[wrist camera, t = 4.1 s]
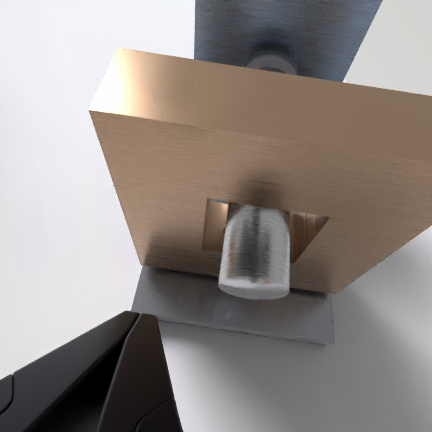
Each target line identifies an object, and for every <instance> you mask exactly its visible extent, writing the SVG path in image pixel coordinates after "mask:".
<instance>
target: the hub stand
mask: <svg viewBox="0 0 432 432" xmlns="http://www.w3.org/2000/svg"><path fill="white" fill-rule="evenodd" d="M381 3H382V0H195V43H194V60H200V61H207V62H213V63H220V64H226V65H233V66H239V67H246V68H252V69H259V70H265V71H272V72H278V73H285V74H291V75H298V76H304V77H311V78H317V79H324V80H330V81H337V82H343V80H344V78H345V76H346V74H347V72H348V70H349V68H350V65H351V64H352V62H353V60H354V57H355V56H356V54H357V52H358V49H359V47H360V45H361V43H362V41H363V39H364V37H365V35H366V33H367V31H368V29H369V27H370V25H371V23H372V21H373V19H374V17H375V15H376V13H377V11H378V9H379V7H380V5H381ZM210 201H213V202H219V203H226V204H229V205H228V212H227V220H226V228H225V236H224V243H223V251H222V259H221V267H220V274H219V277H218V276H211V275H205V274H198V273H192V272H185V271H178V270H172V269H165V268H158V267H152V266H145V265H143V267H142V271H141V275H140V278H139V282H138V286H137V290H136V294H135V298H134V301H133V305H132V309H131V311H132V312H138V313H140V315H141V314H142V313H146V314H152V315H155V316H156V317H157V320H161V321H168V322H174V323H181V324H188V325H194V326H201V327H208V328H214V329H221V330H228V331H234V332H241V333H248V334H254V335H261V336H267V337H274V338H281V339H287V340H294V341H301V342H307V343H314V344H321V345H328V344H331V343H333V342H334V337H333V320H332V302H331V293H324V292H317V291H311V290H304V289H297V288H291V287H289V274H290V213H291V214H295V212H294V211H288V210H281V209H275V208H268V207H261V206H255V205H248V204H242V203H235V202H229V201H222V200H216V199H210Z"/></svg>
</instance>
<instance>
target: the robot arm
mask: <svg viewBox="0 0 432 432" xmlns="http://www.w3.org/2000/svg"><path fill="white" fill-rule="evenodd" d="M0 432H183V429H182V426H181V422H180V418H179V415H178V410H177V406H176V402H175V399H174V393H173V389H172V384H171V380H170V375H169V371H168V366H167V362H166V357H165V353H164V348H163V344H162V340H161V335H160V331H159V326H158V322H157V317H156V316H155V315H152V314H146V313H142V314H141V315H140V313H138V312H132V311H124V312H122V313H120V314H118V315H117V316H115V317H113V318H111V319H109V320H108V321H106V322H104V323H102V324H100V325H98V326H97V327H95V328H93V329H91V330H89V331H88V332H86V333H84V334H82V335H80V336H79V337H77V338H75V339H73V340H71V341H70V342H68V343H66V344H64V345H62V346H61V347H59V348H57V349H55V350H53V351H52V352H50V353H48V354H46V355H44V356H43V357H41V358H39V359H37V360H35V361H34V362H32V363H30V364H28V365H26V366H25V367H23V368H21V369H19V370H17V371H16V372H14V373H13V375H12V374H10V375H8V376H6V377H4V378H3V379H1V380H0Z"/></svg>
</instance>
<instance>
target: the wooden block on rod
mask: <svg viewBox="0 0 432 432" xmlns="http://www.w3.org/2000/svg"><path fill="white" fill-rule="evenodd" d="M89 112H90V115H91V118H92V121H93V124H94V127H95V130H96V133H97V136H98V139H99V142H100V145H101V148H102V151H103V154H104V157H105V160H106V163H107V166H108V169H109V172H110V175H111V178H112V181H113V184H114V186H115V189H116V192H117V195H118V198H119V201H120V204H121V207H122V210H123V213H124V216H125V219H126V222H127V225H128V228H129V231H130V234H131V237H132V240H133V243H134V246H135V249H136V252H137V255H138V258H139V261H140V264H141V265H145V266H152V267H158V268H165V269H172V270H178V271H185V272H192V273H198V274H205V275H211V276H218V277H219V274H220V267H221V259H222V251H223V243H224V236H225V228H226V220H227V212H228V205H229V204H226V203H219V202H213V201H210V199H216V200H222V201H229V202H235V203H242V204H248V205H255V206H261V207H268V208H275V209H281V210H288V211H294V212H295V214H291V213H290V274H289V287H291V288H297V289H304V290H311V291H317V292H324V293H331V294H336V293H337V292H339V291H340V290H342V289H343V288H344V287H346V286H347V285H349V284H350V283H351V282H353V281H354V280H356V279H357V278H358V277H360V276H361V275H363V274H364V273H365V272H367V271H368V270H370V269H371V268H372V267H374V266H375V265H377V264H378V263H379V262H381V261H382V260H384V259H385V258H386V257H388V256H389V255H391V254H392V253H393V252H395V251H396V250H398V249H399V248H400V247H402V246H403V245H405V244H406V243H407V242H409V241H410V240H412V239H413V238H414V237H416V236H417V235H419V234H420V233H422V232H423V231H424V230H426V229H427V228H429V227H430V226H431V225H432V96H427V95H421V94H414V93H408V92H401V91H395V90H389V89H382V88H376V87H369V86H363V85H356V84H350V83H343V82H337V81H330V80H324V79H317V78H311V77H304V76H298V75H291V74H285V73H278V72H272V71H265V70H259V69H252V68H246V67H239V66H233V65H226V64H220V63H213V62H207V61H200V60H194V59H187V58H181V57H174V56H168V55H161V54H155V53H148V52H142V51H136V50H129V49H123V48H118V50H117V52H116V54H115V56H114V58H113V60H112V62H111V64H110V66H109V68H108V70H107V73H106V75H105V77H104V79H103V81H102V83H101V85H100V87H99V89H98V91H97V93H96V95H95V97H94V99H93V101H92V103H91V106H90V108H89Z"/></svg>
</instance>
